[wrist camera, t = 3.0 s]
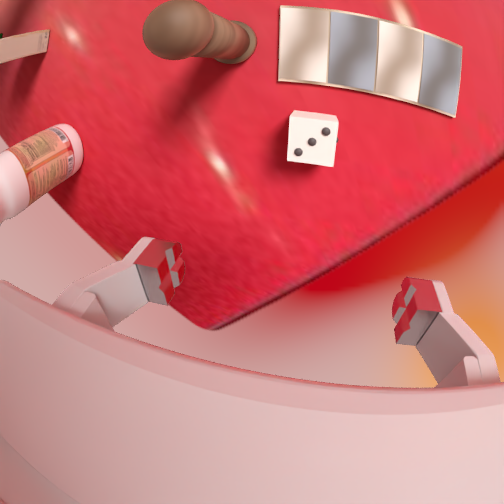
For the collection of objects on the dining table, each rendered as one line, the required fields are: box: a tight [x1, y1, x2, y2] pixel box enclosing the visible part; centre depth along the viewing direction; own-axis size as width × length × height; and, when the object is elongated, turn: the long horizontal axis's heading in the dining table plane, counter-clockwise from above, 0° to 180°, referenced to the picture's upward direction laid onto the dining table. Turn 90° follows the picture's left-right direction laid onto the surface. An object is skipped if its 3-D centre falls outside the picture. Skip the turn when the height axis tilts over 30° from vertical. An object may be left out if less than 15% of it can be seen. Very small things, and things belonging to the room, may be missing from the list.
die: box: [287, 110, 339, 167], centre depth 26 cm, size 5×5×5 cm
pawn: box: [143, 0, 257, 64], centre depth 17 cm, size 5×5×15 cm
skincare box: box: [0, 29, 50, 64], centre depth 18 cm, size 6×4×12 cm
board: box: [278, 6, 462, 118], centre depth 20 cm, size 20×9×1 cm, turn 89°
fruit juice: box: [0, 124, 83, 225], centre depth 24 cm, size 9×9×28 cm
